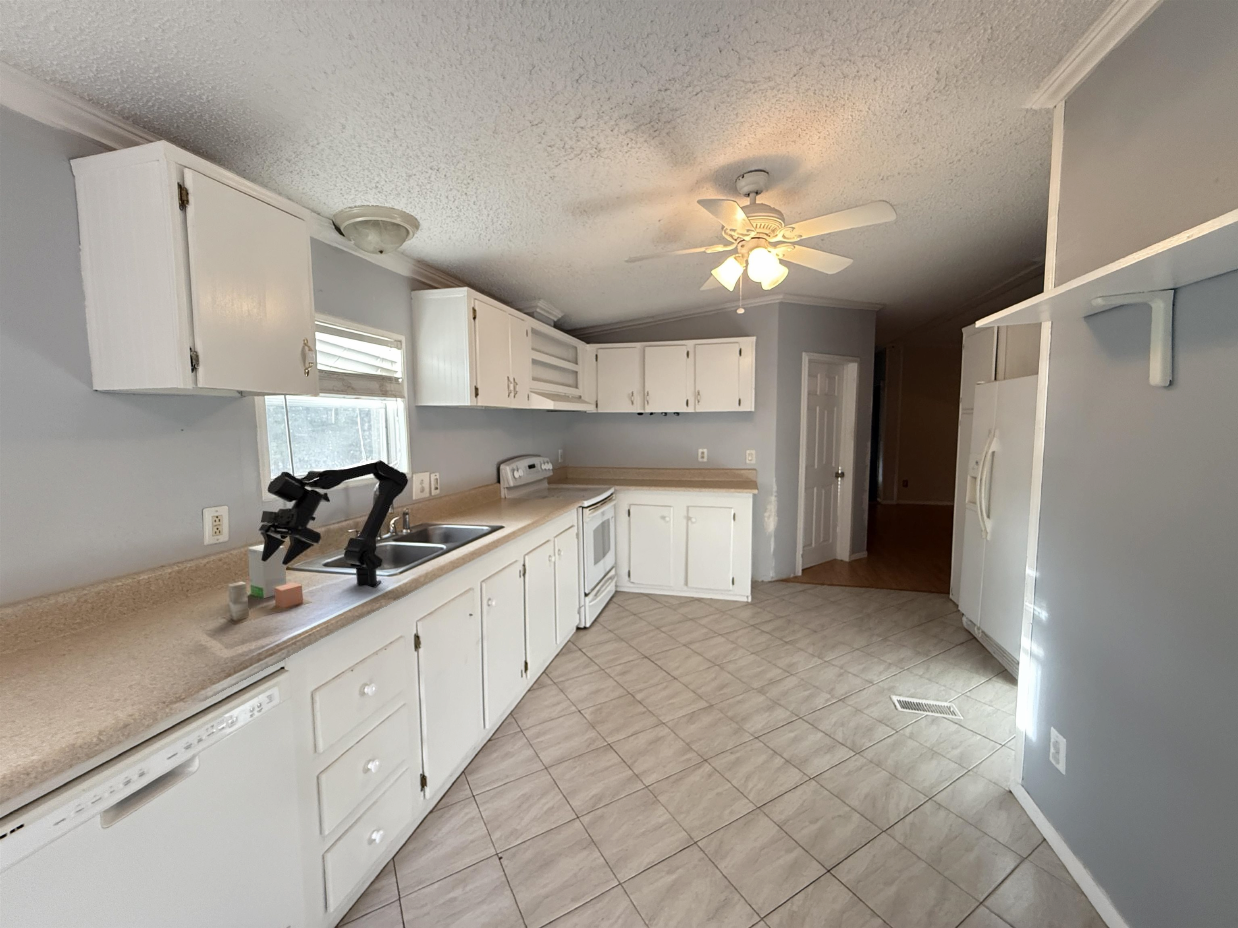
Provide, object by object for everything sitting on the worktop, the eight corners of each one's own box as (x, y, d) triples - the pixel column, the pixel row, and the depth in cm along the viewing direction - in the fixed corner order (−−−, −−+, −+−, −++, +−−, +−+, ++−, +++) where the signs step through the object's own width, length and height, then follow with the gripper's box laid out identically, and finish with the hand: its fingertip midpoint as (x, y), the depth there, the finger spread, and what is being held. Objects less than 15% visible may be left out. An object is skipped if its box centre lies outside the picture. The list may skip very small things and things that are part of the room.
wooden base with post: (298, 600, 143) (295, 566, 142) (312, 606, 138) (309, 570, 137) (222, 621, 128) (219, 583, 128) (235, 629, 123) (231, 589, 122)
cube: (295, 599, 141) (293, 582, 140) (303, 602, 138) (301, 585, 137) (275, 604, 137) (274, 587, 136) (283, 608, 134) (281, 590, 133)
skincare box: (250, 598, 146) (245, 547, 145) (274, 591, 152) (270, 542, 151) (265, 602, 142) (260, 550, 141) (289, 595, 148) (285, 545, 147)
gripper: (256, 495, 134) (223, 548, 127) (299, 498, 126) (266, 555, 119) (292, 512, 143) (263, 563, 136) (334, 516, 135) (305, 570, 128)
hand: (273, 562), depth 130 cm, fingers open, 9 cm apart
